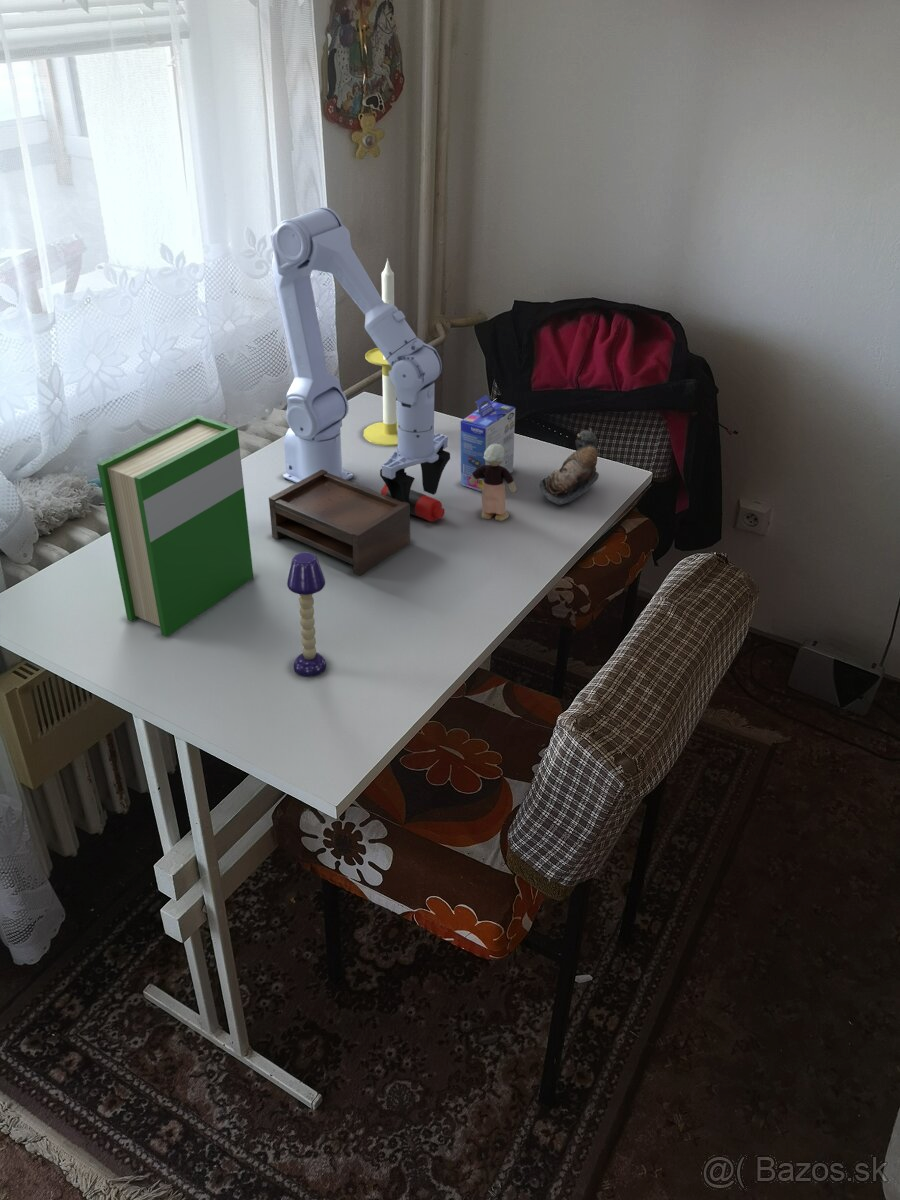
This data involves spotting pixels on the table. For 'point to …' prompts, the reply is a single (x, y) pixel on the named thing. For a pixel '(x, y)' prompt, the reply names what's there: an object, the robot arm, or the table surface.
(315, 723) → the table surface
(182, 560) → the hardback book
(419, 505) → the thermos
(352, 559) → the shelf
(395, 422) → the candle
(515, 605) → the table surface
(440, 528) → the table surface
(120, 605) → the table surface
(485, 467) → the grandmother figurine
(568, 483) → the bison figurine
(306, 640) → the toy lamp
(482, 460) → the ink cartridge box
